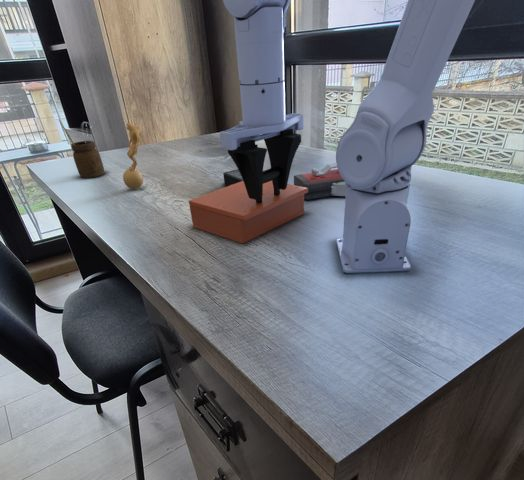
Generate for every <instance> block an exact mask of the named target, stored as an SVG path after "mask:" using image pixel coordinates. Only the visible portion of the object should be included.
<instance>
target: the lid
mask: <svg viewBox="0 0 524 480" xmlns="http://www.w3.org/2000/svg"><path fill="white" fill-rule="evenodd" d="M281 176H282V170H281V168H280V167H279V166H276V167H273V168H271V167H270V168H268V169H265V170H263V194H262V199H261V200H255V199H250V198H249V196H248V193H247V190H246V187H245V184H244V181H241V182H238V183H236V184H233V185H230V186H227V185H226V186H225V187H223V188H220V189H216V190H214V191H211V192H208V193H205V194H202V195H200V196H197V197H195V198H192V199H189V200H188V205H189V206H190V205H191V206H195V207H198V208H202V209H205V210H209V211H212V212H216V213H219V214H223V215H226V216H230V217H233V218H237V219H240V220H244V221H245V220H247V219H249V218H252V217H254V216H256V215H258V214H261V213H263V212H265V211H267V210H270V209H272V208H274V207H276V206H278V205H281V204H283V203H285V202H287V201H290V200H292V199H294V198H296V197H299V196H301V195H303V194H305V193H308V188H306V187H300V186H295V185H294V184H289V183H287V187H286V189H285V190H282V189H280V177H281ZM272 180H273V183H272ZM273 185H274V187H273Z"/></svg>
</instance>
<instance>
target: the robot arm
mask: <svg viewBox="0 0 524 480" xmlns="http://www.w3.org/2000/svg"><path fill="white" fill-rule="evenodd" d="M222 2H223V5H224V7H225V8H226V11H227V12H228V13H229V14H230V15H231V16H233V23H234V37H235V47H236V59H237V60H236V61H237V70H238V81H239V91H240V104H241V105H240V107H241V117H242V120H241V121H239V124H237V125H235V126H233V127H231V128H228V129H225V130H222V131H219V139H220V147H221V150H227V153H228V155H229V157H230V158H231V159H232V161H233V162H234V164H235V166H236V168H237V169H238V170H239V172H240V174H241V176H242V179H243V181H244V184H245V187H246V190H247V193H248V196H249V198H250V199H255V200H261V199H262V194H263V171H264V165H265V159H266V156H267V154H268V159H269V164H270V168H273V167H276V166H279V167H280V168H281V170H282V176H281V177H280V189H282V190H285V189H286V187H287V184H289V177H290V172H291V168H292V165H293V162H294V158H295V156H296V153H297V151H298V148H299V147H300V145H301V143H302V134H300V133H294V131H302V130H304V114H303V113H288V114H286V87H285V85H286V84H285V48H284V47H285V46H284V44H285V43H284V42H285V41H284V33H285V28H286V27H287V12H288V8H289V6H290V3H291V2H292V0H222ZM475 2H476V0H407V3H406V5H405V9H404V11H403V14H402V16H401V19H400V22H399V25H398V28H397V31H396V34H395V36H394V39H393V42H392V44H391V48H390V50H389V53H388V56H387V58H386V62H385V64H384V67H383V70H382V73H381V75H380V78H379V80H378V82H377V83H376V84H375V86H374V87H373V88H372V90H371V91H370V92H369V93H368V94H367V95H366V97H364V99H363V100H362V102H361V103H360V104H359V106H358V108H357V111H356V114H355V117H354V119H353V121H352V123H351V125H350V126H349V127H348V128H347V129H346V130H345V131H344V132H343V133H342V135H341V136H340V138H339V141H338V142H337V146H336V150H335V163H337V168H336V169H338V171H339V173H340V175H341V177H342V178H343V179H344V181H345V188H346V196H345V200H344V214H343V230H342V237H339V238H337V239H336V240H335V243H336V247H337V251H338V255H339V259H340V263H341V268H342V271H343V273H346V274H352V273H353V274H355V273H380V272H383V273H384V272H407V271H408V272H409V271H410V270H411V268H412V266H411V263H410V261H409V260H408V258H407V256H406V251H407V245H408V240H409V234H410V228H411V223H412V220H411V219H412V218H411V213H410V210H409V207H408V205H407V204H408V200H409V199H408V198H409V193H410V186H411V181H412V167H413V166H414V165H415V164H416V163H417V162H418V161H419V160H420V158H422V156H423V153H424V151H425V148H426V145H427V132H428V126H429V123H430V121H431V119H432V116H433V114H434V112H435V103H434V97H433V93H434V90H435V89H436V86H437V84H438V82H439V79H440V77H441V75H442V73H443V71H444V68H445V67H446V65H447V63H448V60H449V58H450V57H451V53H452V51H453V49H454V47H455V45H456V43H457V41H458V38H459V36H460V34H461V32H462V30H463V27H464V25H465V24H466V21H467V20H468V17H469V14H470V12H471V10H472V8H473V6H474V3H475ZM259 141H264V144H265V146H266V147H258V144H256V142H259ZM272 183H273V180H272ZM273 187H274V185H273Z"/></svg>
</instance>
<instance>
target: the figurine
mask: <svg viewBox="0 0 524 480" xmlns="http://www.w3.org/2000/svg"><path fill="white" fill-rule="evenodd" d="M126 130H128V131H129V132H128V135H129V141H128V143H127V148H128V150H127V153H126V155H127V157H128V158H129V159H130V160H131V161H132V164H131V166H129V167H128V169H126V170H125V171H124V172H123V173H122V181H123V183H124V185H125V186H126V187H127V188H129V189H131V190H138V189H140V188H141V187H142V186H143V183H144V176H143V175H142V173H141V172H140V170H138V169H136V167H137V165H138V161H137V158H136V157H135V156H137V155H138V148H139V145H140V141H141V138H142V135H143V129H142V127H141V126H140V125H137V124H136V125H135V124H132V123H130V122H127V123H126Z"/></svg>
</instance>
